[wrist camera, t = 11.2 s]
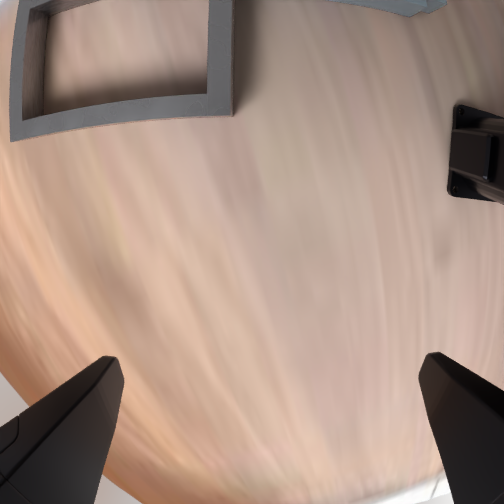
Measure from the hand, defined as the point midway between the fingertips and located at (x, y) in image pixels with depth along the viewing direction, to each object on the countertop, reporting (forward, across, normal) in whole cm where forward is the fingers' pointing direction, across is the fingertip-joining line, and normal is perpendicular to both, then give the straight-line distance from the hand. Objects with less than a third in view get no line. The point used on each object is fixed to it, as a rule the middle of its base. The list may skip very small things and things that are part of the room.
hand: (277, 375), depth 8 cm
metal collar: (+13, +9, -12) cm, 20 cm away
